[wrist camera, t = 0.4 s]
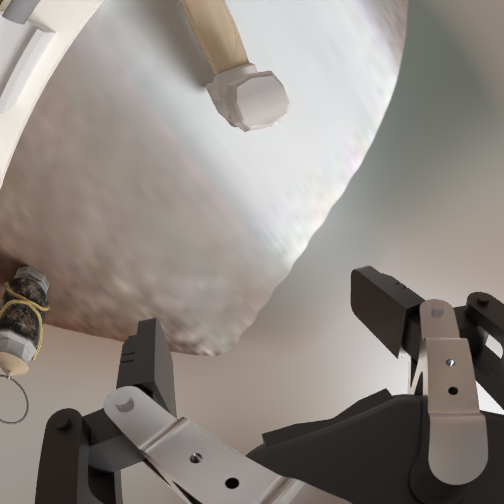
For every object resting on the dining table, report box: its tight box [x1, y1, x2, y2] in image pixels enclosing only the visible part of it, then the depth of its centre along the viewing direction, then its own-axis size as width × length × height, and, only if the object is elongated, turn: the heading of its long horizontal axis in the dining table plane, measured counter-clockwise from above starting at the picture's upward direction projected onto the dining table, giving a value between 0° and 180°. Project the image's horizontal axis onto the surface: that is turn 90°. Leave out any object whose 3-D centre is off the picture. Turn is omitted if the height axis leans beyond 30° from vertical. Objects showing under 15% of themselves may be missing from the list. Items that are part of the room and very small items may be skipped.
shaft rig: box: [0, 0, 104, 188], centre depth 18 cm, size 12×34×8 cm, turn 136°
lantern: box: [0, 266, 50, 424], centre depth 32 cm, size 9×8×25 cm
